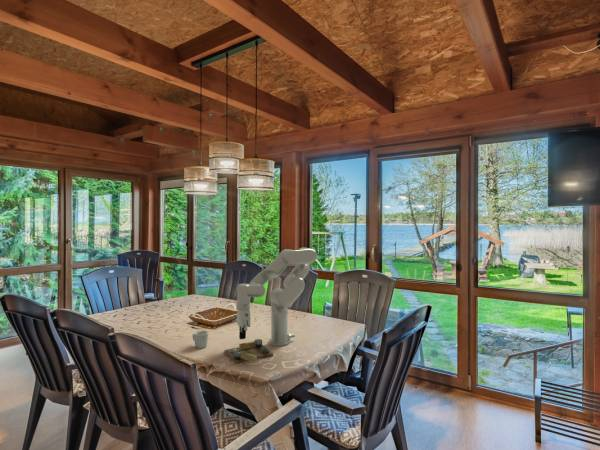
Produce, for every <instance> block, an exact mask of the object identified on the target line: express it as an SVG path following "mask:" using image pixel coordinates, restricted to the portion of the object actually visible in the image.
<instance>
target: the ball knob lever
mask: <svg viewBox="0 0 600 450" xmlns="http://www.w3.org/2000/svg"><path fill="white" fill-rule="evenodd" d="M262 345H263V339H262V338H256V339H254V340H252V341H247V342H242V343H239V344H238V347H239V350H243V349H248V348H253V347H262Z"/></svg>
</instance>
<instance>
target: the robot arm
mask: <svg viewBox="0 0 600 450" xmlns="http://www.w3.org/2000/svg"><path fill="white" fill-rule="evenodd" d="M317 258H318V254H317V251H316V250H314V249H313V248H309V247H300V248H298V249H288V248H285V249H283V250H282V251H280V252H279V254H277V256H276V257H275V258H274V259H273V260H272V262H270V263H269V264H268V266H266V267H265V268H264V269H262V270H261V271H260V272H258V273H257V274H256V275H255V276H254V277H253V278H252V280H251V281H249V283H239V284H237V287H236V310H237V311H236V324H237V325H238V329H239V330H238V331H239V335H238V337H239V340H246V337H247V336H246V335H247V331H248V328H250V327H251V298H262V297H264V296H265V294H266V288H265V286H264V285H265V284H267V283H268V282H269V281H271V280H273V279H275V278H278V277H280V276H281V274H282V273H283V272H284V271H285V270H286V268H288V266H295V267H294V268H293V269H292V271H290V273H289V274H287V276H286V277H285V279H284V280H283V287H284V289H283V288H280V287H279V288H278V287H276V288H274V289H273V290H272V291H271V292H270V295H269V300H270V313H271V315H270V317H271V318H270V320H271V323H270V324H271V327H270V329H271V331H270V332H271V338H270V339H268V344H269V345H271V346H275V347H283V346H287V345H289V344H290V343H291V339H292V338H295V337H296V334H295V333H288V332H289V329H288V308H290V307H291V306H292V305H293V304H294V303H295V302H296V300H297V299H298V298H299V297H300V295H301V294H302V293H303V292H304V290H305V286H306V283H305V281H304V279H305V278H306V277H307V276H308V274H309V273H310V269H311V264H312V263H314V262H315V261H316V260H317Z"/></svg>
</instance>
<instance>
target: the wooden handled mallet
mask: <svg viewBox="0 0 600 450" xmlns="http://www.w3.org/2000/svg"><path fill="white" fill-rule="evenodd" d="M234 359H243V360H248V362H251V363H256V362H258V359H257V355H252V354H248V353H243V351H242V350H236V351H234Z"/></svg>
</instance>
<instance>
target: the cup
mask: <svg viewBox="0 0 600 450" xmlns="http://www.w3.org/2000/svg"><path fill="white" fill-rule="evenodd" d="M208 339H209V331H208V330H197V331H195V332H194V333H192V340H193V341H194V346H195V348H197V349H204V348H206V347H207V346H208Z"/></svg>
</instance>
